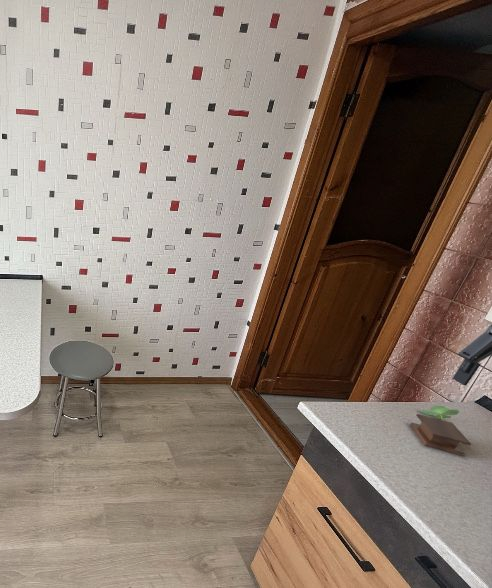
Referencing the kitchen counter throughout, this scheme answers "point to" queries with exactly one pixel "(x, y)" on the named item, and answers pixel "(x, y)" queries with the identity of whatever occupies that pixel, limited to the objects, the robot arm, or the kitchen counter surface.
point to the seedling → (441, 412)
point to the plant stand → (439, 434)
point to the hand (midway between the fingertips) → (483, 383)
